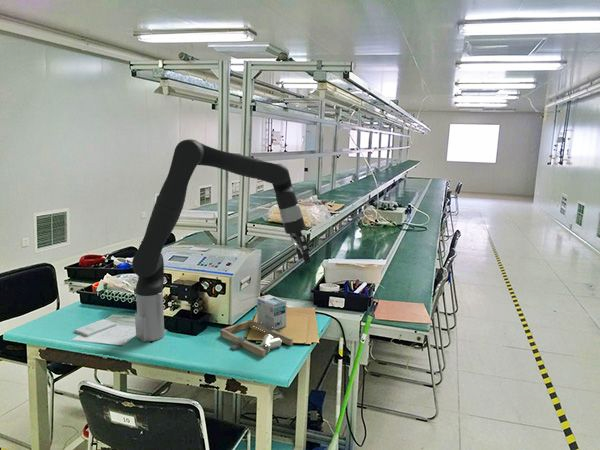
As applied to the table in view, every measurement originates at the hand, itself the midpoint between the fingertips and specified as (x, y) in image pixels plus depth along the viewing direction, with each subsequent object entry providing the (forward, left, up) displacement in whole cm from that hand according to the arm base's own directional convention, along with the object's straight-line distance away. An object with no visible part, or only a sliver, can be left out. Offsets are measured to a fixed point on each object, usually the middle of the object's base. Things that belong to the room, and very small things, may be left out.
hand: (304, 260), depth 170 cm
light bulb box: (-1, +17, -30) cm, 34 cm away
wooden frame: (-15, +10, -30) cm, 35 cm away
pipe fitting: (-15, +1, -30) cm, 34 cm away
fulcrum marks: (-15, +10, -30) cm, 35 cm away
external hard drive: (-53, +60, -30) cm, 85 cm away
